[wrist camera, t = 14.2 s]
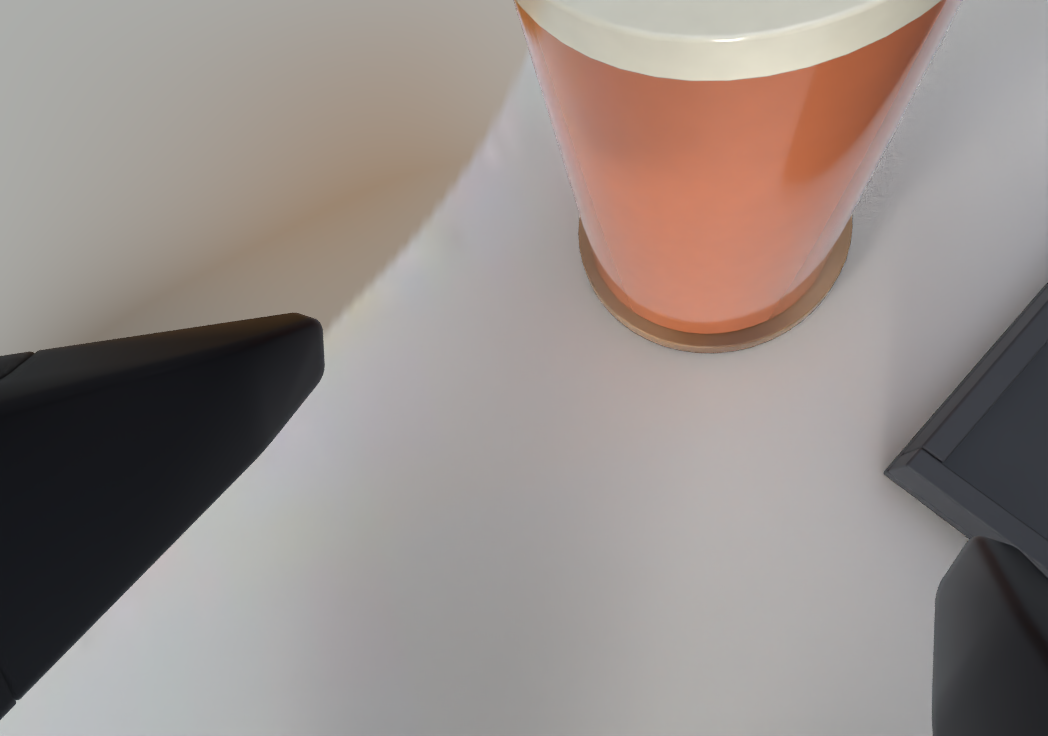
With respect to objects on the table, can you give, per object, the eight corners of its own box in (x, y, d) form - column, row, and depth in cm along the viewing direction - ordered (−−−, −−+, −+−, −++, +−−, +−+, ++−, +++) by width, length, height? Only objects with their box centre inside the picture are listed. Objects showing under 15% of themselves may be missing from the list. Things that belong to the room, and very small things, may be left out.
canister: (725, 389, 19) (794, 149, 7) (538, 242, 21) (372, -108, 10) (895, 197, 19) (1219, -322, 8) (691, 75, 21) (704, -454, 10)
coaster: (643, 396, 20) (642, 392, 19) (544, 185, 22) (540, 176, 22) (902, 282, 19) (908, 274, 18) (768, 77, 21) (770, 64, 21)
